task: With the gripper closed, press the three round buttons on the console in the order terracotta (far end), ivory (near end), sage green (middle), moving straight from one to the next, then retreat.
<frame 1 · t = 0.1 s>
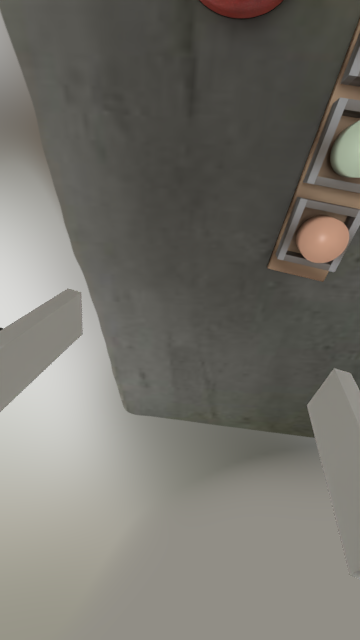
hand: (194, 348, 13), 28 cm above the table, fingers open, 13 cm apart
console: (347, 152, 29), on the table
terracotta button: (320, 239, 29), point 5 cm above the table, slide at 0.0 cm
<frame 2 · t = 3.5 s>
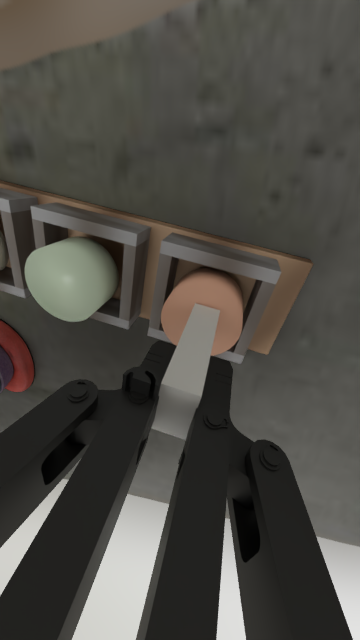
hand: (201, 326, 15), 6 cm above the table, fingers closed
console: (107, 259, 21), on the table
sage button: (74, 278, 17), point 5 cm above the table, slide at 0.0 cm
terracotta button: (203, 312, 16), point 4 cm above the table, slide at -0.6 cm, touching gripper
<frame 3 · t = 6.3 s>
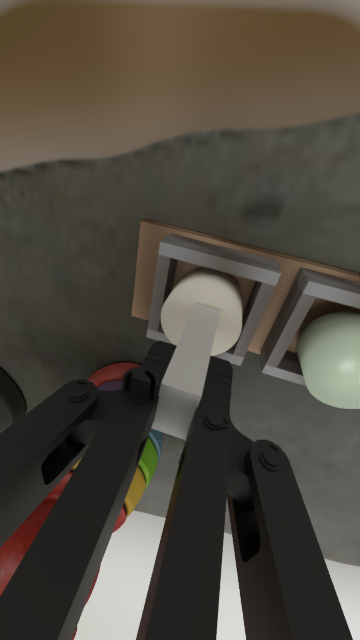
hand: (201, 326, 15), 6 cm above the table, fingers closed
console: (324, 321, 19), on the table
sage button: (345, 359, 15), point 5 cm above the table, slide at 0.0 cm
stacking bear: (135, 392, 28), on the table
ivory button: (203, 312, 16), point 4 cm above the table, slide at -0.8 cm, touching gripper
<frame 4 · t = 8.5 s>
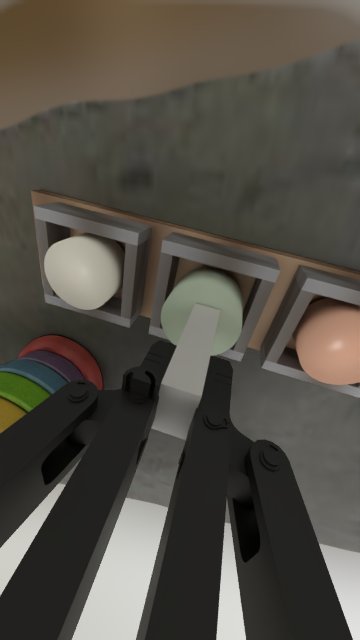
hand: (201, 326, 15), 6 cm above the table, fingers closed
console: (211, 286, 20), on the table
sage button: (203, 312, 16), point 4 cm above the table, slide at -0.3 cm, touching gripper
stacking bear: (67, 366, 30), on the table
ivory button: (88, 270, 18), point 3 cm above the table, slide at -1.5 cm
terracotta button: (336, 341, 16), point 3 cm above the table, slide at -1.5 cm
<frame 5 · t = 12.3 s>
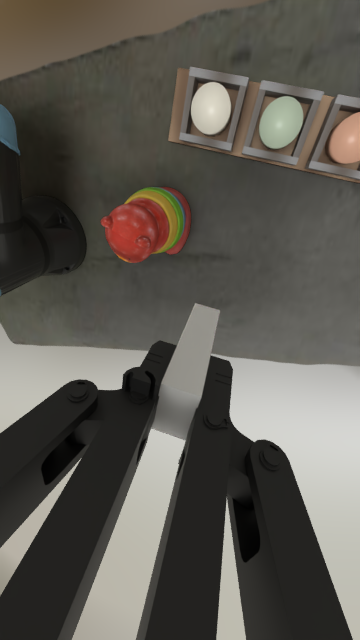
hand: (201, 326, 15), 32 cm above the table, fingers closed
console: (277, 129, 34), on the table
sage button: (279, 125, 31), point 3 cm above the table, slide at -1.5 cm
stacking bear: (165, 217, 44), on the table
ivory button: (211, 111, 32), point 3 cm above the table, slide at -1.5 cm
terracotta button: (351, 139, 31), point 3 cm above the table, slide at -1.5 cm
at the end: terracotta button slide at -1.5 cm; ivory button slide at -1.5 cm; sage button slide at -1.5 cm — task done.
